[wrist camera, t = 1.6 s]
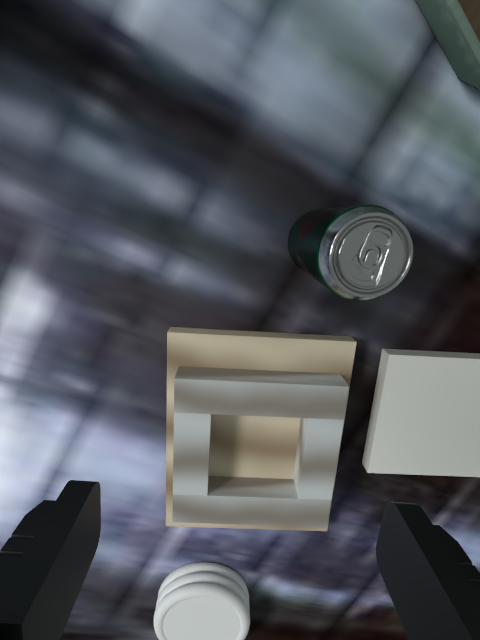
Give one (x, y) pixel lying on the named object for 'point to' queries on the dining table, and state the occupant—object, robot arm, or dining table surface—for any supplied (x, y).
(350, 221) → the soda can
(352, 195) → the dining table surface
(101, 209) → the dining table surface
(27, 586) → the robot arm
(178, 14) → the dining table surface
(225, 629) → the white ribbed disc
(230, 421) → the socket board
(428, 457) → the tile
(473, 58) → the tea set
